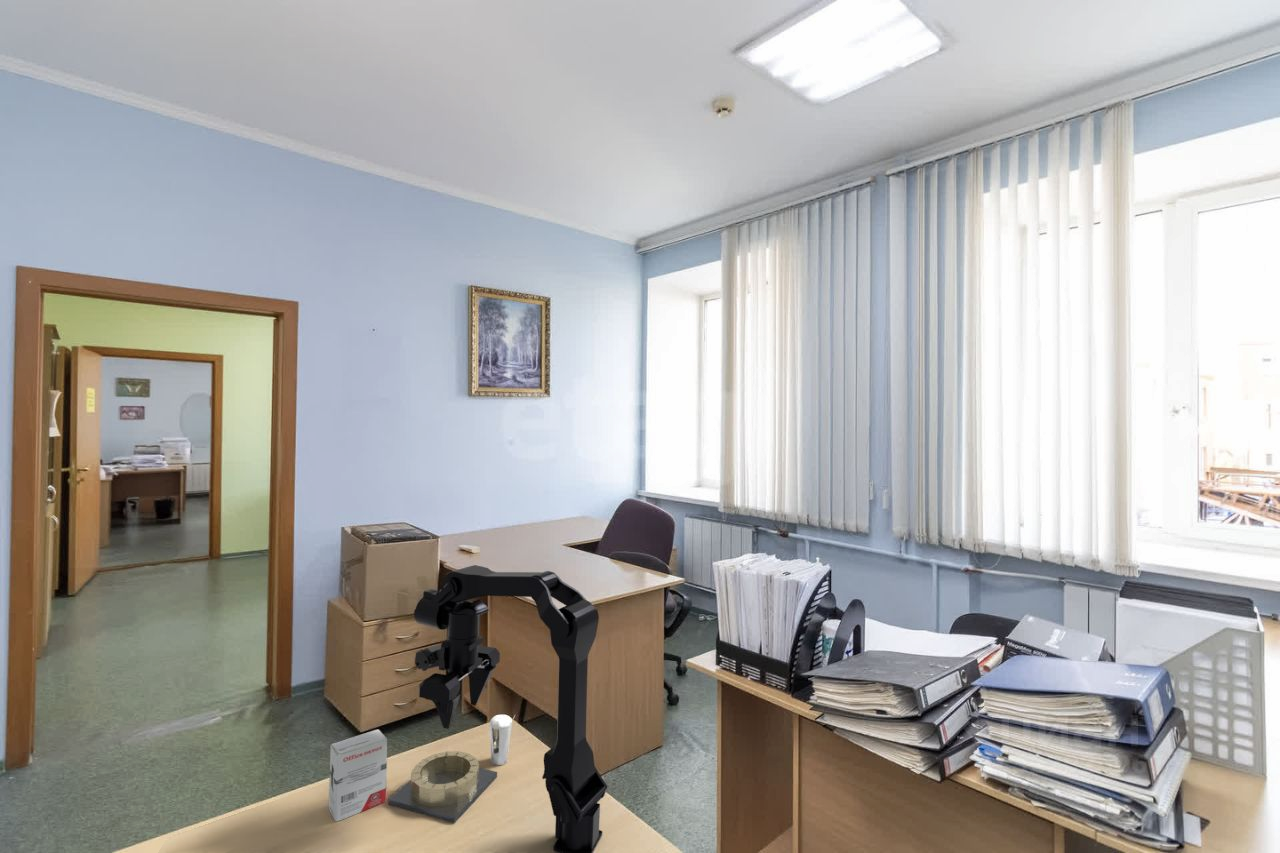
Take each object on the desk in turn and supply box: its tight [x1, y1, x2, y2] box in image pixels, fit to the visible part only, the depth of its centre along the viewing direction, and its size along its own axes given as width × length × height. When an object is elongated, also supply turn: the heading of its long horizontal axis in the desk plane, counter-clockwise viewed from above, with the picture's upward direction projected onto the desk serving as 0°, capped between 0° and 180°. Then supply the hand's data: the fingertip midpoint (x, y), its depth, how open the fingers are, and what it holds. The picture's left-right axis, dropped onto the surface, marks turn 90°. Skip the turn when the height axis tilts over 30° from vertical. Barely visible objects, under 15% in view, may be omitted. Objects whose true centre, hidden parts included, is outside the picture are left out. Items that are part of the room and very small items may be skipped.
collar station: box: [387, 750, 498, 824], centre depth 110 cm, size 14×14×4 cm
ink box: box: [328, 729, 388, 823], centre depth 105 cm, size 8×5×12 cm, turn 133°
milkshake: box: [489, 714, 516, 766], centre depth 120 cm, size 4×5×10 cm
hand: (460, 716), depth 110 cm, fingers open, 9 cm apart
